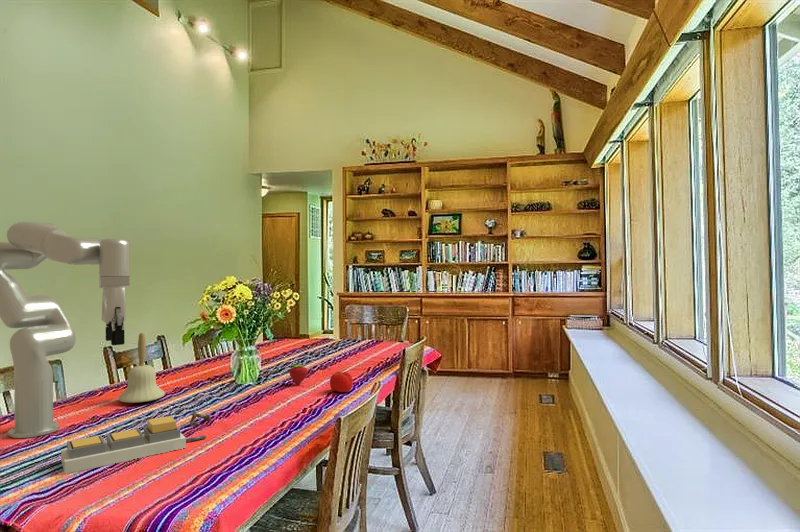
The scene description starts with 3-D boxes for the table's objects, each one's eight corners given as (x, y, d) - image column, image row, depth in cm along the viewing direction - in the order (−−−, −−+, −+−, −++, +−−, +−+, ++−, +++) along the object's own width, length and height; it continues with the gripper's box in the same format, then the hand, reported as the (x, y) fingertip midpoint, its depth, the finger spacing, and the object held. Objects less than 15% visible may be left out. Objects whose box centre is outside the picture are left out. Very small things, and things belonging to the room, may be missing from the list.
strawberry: (306, 386, 212) (306, 362, 212) (288, 386, 212) (288, 362, 212) (308, 383, 218) (308, 359, 218) (290, 383, 218) (290, 359, 218)
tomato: (342, 395, 198) (342, 376, 198) (325, 392, 204) (325, 373, 204) (358, 390, 206) (358, 372, 206) (342, 387, 211) (342, 369, 211)
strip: (61, 461, 133) (61, 441, 133) (201, 433, 154) (201, 416, 154) (64, 474, 125) (64, 452, 125) (211, 443, 146) (211, 425, 146)
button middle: (110, 441, 138) (110, 433, 138) (135, 437, 142) (135, 429, 142) (114, 448, 133) (114, 439, 133) (140, 443, 137) (140, 435, 137)
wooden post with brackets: (185, 425, 160) (190, 410, 162) (202, 428, 167) (206, 414, 168) (190, 425, 159) (194, 410, 161) (207, 429, 166) (211, 414, 168)
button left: (71, 449, 133) (71, 440, 133) (98, 444, 136) (98, 435, 136) (73, 456, 128) (73, 447, 128) (101, 450, 132) (101, 442, 132)
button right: (147, 427, 144) (147, 419, 144) (170, 423, 147) (170, 415, 147) (152, 433, 139) (152, 425, 139) (176, 429, 142) (176, 421, 142)
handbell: (109, 403, 187) (108, 334, 187) (146, 393, 200) (146, 329, 200) (136, 408, 180) (136, 337, 180) (173, 398, 193) (173, 331, 193)
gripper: (95, 281, 152) (95, 339, 152) (104, 283, 138) (104, 348, 138) (123, 281, 156) (124, 337, 156) (135, 283, 143) (135, 345, 143)
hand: (114, 342), depth 147 cm, fingers open, 9 cm apart
